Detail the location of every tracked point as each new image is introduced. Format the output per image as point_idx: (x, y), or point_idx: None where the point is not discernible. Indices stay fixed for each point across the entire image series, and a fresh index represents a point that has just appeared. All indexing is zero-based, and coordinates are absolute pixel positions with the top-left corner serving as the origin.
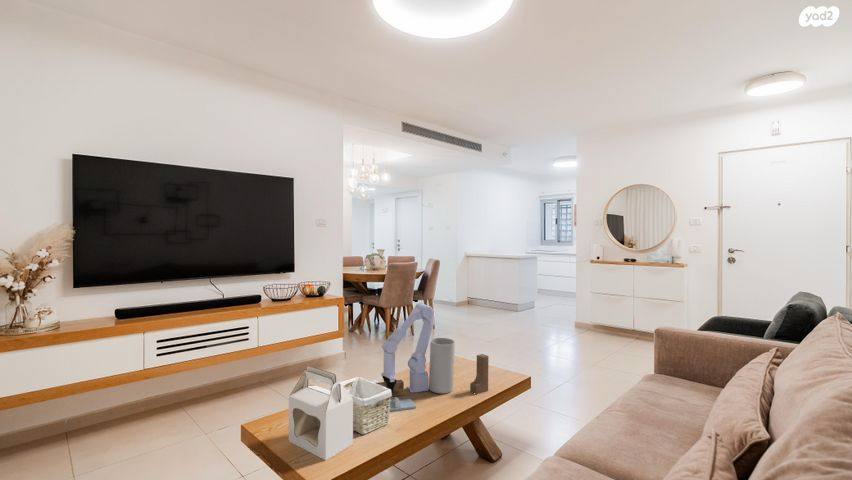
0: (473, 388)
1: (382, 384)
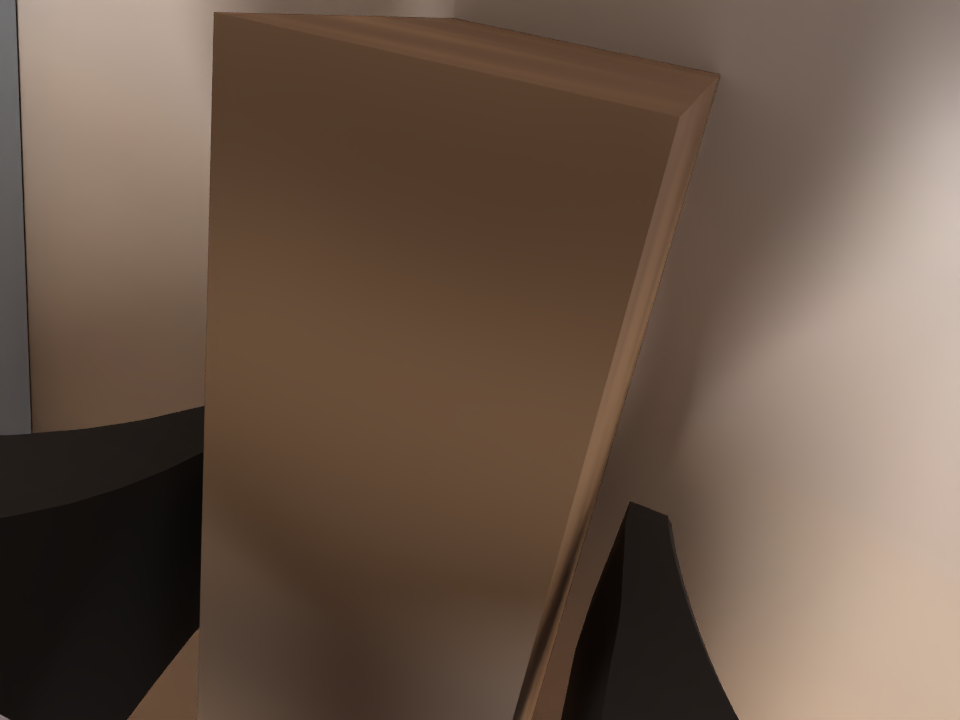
0: None
1: (285, 381)
